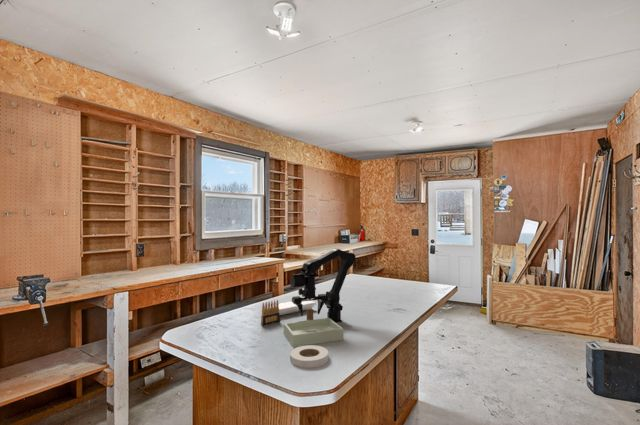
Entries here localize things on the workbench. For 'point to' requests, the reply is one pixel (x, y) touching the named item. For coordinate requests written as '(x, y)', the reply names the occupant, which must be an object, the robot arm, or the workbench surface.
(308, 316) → the peg
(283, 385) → the workbench surface
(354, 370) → the workbench surface
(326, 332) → the box
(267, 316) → the ammunition clip
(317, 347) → the roll of tape
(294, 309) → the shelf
